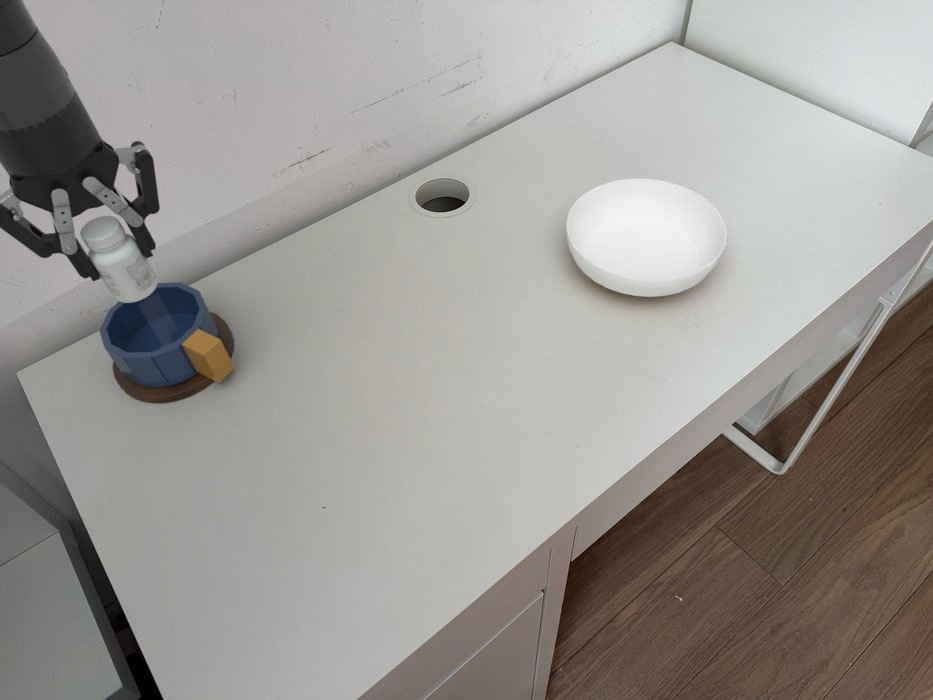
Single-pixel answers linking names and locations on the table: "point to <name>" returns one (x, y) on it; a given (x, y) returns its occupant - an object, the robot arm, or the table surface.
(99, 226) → the pill bottle
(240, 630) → the table surface
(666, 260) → the bowl
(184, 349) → the serving bowl
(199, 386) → the turntable
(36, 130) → the robot arm
